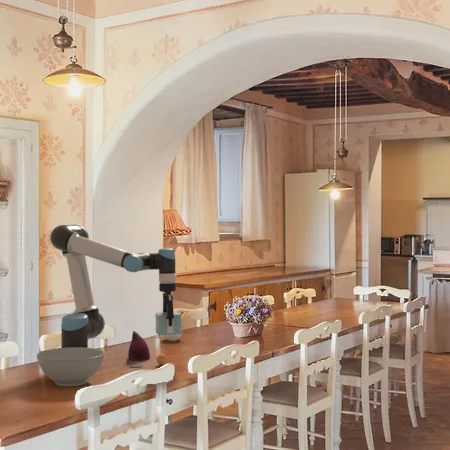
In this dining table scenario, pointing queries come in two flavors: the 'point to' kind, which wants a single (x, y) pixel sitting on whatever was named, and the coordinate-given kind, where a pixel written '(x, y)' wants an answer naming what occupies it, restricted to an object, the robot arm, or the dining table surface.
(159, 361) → the ball
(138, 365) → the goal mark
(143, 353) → the vegetable
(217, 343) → the dining table surface
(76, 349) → the decorative bowl
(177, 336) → the lidded jar
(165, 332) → the rounded blue-grey cube
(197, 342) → the dining table surface
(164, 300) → the robot arm
